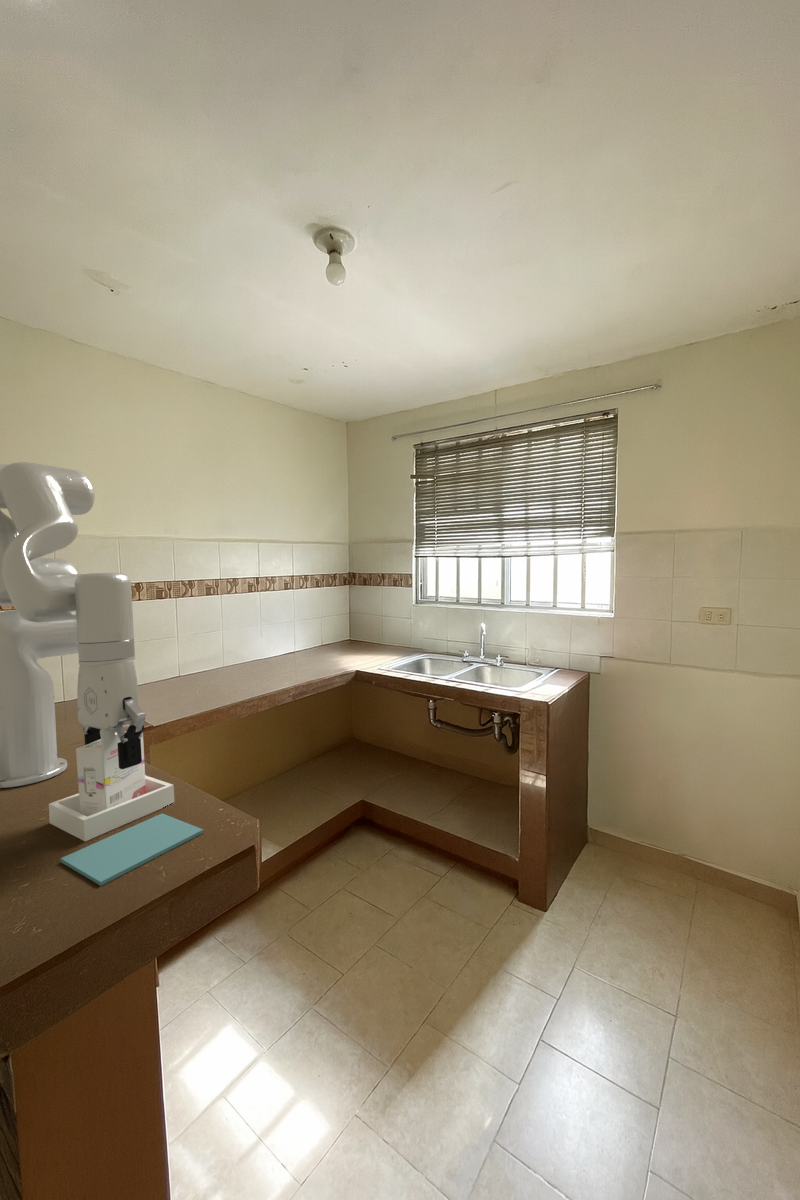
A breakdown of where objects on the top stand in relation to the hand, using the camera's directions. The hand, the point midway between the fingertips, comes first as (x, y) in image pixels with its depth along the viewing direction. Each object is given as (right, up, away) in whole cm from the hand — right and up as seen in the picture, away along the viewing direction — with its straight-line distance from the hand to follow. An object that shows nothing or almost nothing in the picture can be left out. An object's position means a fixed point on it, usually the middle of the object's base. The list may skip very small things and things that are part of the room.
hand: (113, 760), depth 76 cm
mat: (+9, -9, -10) cm, 16 cm away
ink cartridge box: (0, -9, +1) cm, 9 cm away
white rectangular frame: (0, -8, +1) cm, 8 cm away
